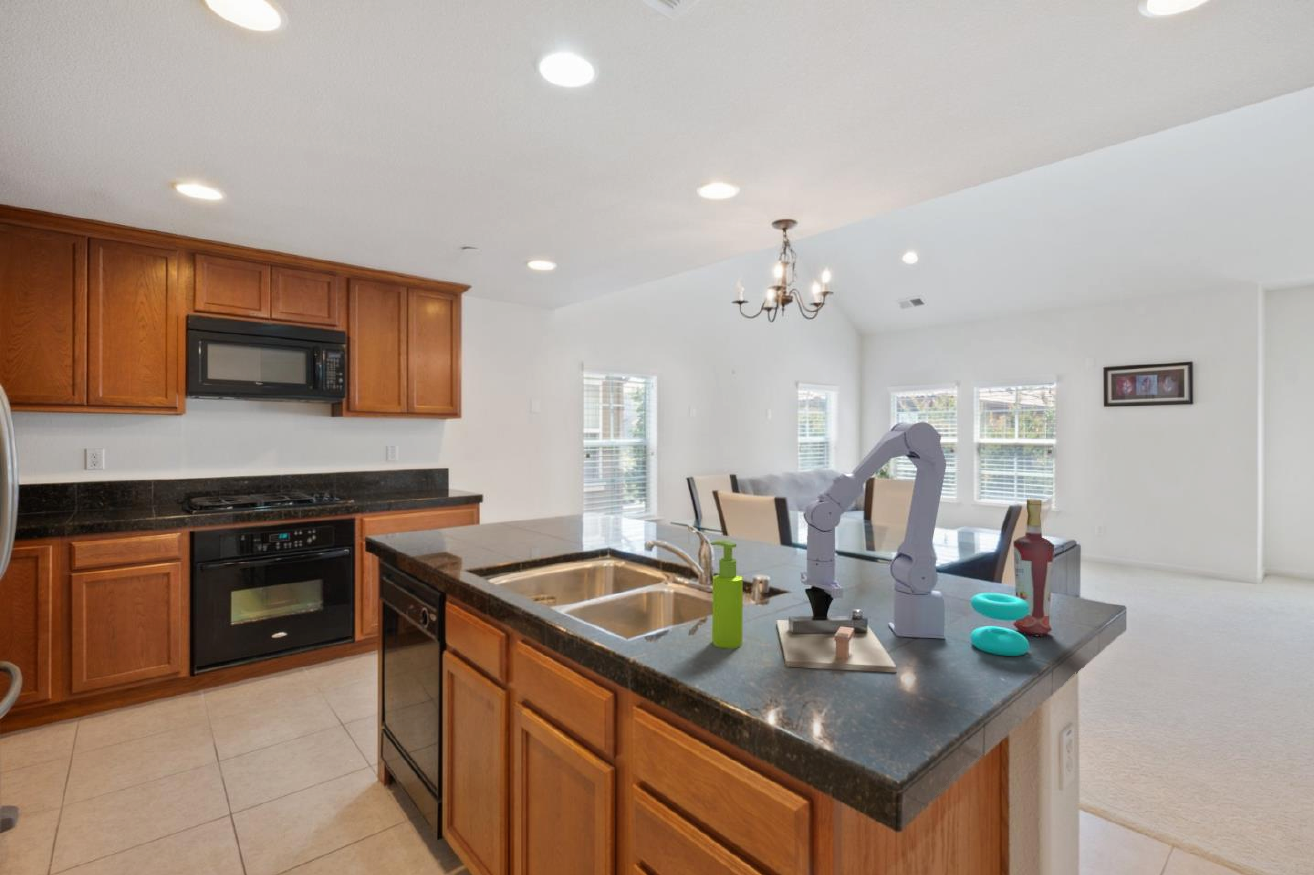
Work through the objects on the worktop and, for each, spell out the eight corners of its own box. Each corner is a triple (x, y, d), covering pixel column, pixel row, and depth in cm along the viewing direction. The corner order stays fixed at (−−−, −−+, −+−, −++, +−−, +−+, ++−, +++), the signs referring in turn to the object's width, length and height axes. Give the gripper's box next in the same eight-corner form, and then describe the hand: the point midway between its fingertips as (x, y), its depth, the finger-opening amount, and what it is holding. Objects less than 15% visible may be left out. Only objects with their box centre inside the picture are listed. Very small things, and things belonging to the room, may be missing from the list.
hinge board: (867, 628, 132) (867, 623, 132) (896, 672, 108) (896, 666, 108) (776, 624, 134) (776, 619, 134) (786, 666, 111) (786, 660, 111)
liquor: (1059, 639, 126) (1061, 502, 125) (1019, 637, 127) (1021, 501, 127) (1044, 628, 133) (1046, 498, 132) (1007, 626, 134) (1008, 497, 134)
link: (862, 626, 130) (863, 607, 130) (870, 632, 126) (870, 613, 126) (787, 627, 129) (788, 608, 128) (793, 634, 125) (793, 614, 125)
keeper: (840, 647, 118) (840, 626, 118) (854, 649, 117) (854, 628, 117) (834, 657, 113) (834, 635, 112) (848, 659, 111) (848, 637, 111)
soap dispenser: (721, 634, 127) (721, 538, 127) (748, 643, 123) (748, 542, 122) (702, 641, 123) (703, 541, 123) (729, 650, 118) (730, 546, 118)
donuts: (1034, 607, 114) (973, 601, 118) (1033, 661, 114) (972, 653, 118) (1025, 594, 123) (969, 589, 127) (1024, 644, 123) (968, 637, 127)
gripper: (788, 552, 135) (787, 614, 135) (820, 567, 121) (819, 636, 121) (817, 551, 137) (817, 612, 137) (852, 565, 123) (851, 633, 123)
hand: (820, 623), depth 129 cm, fingers closed
